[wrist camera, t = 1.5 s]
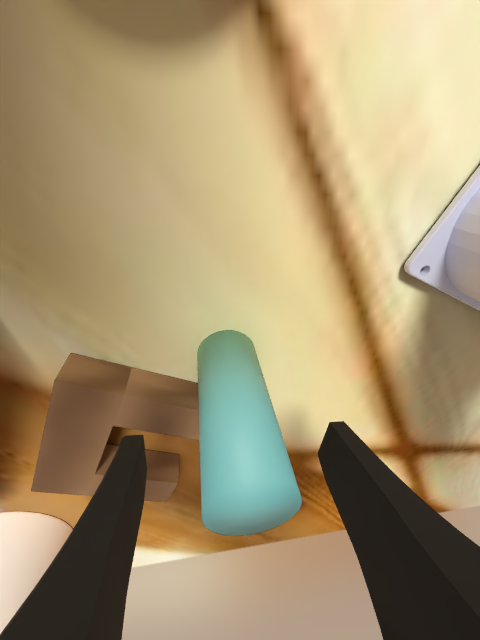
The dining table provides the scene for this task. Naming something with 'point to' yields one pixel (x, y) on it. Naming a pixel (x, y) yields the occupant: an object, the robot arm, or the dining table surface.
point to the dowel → (240, 442)
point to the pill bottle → (26, 555)
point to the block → (111, 425)
